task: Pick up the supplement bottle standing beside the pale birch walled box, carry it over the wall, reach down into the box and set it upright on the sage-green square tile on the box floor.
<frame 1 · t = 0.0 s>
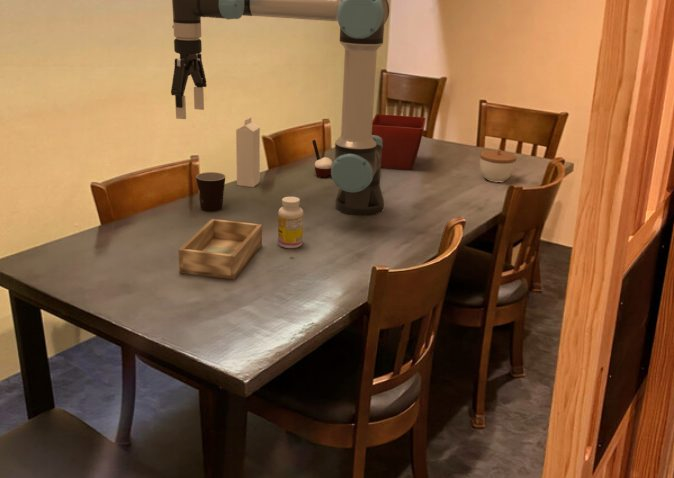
hand: (190, 113, 204), 28 cm above the table, tool pointing down, fingers open, 13 cm apart
coffee mug: (213, 207, 214), on the table
plant pot: (395, 165, 265), on the table
lidded bowl: (495, 180, 253), on the table
walled box: (222, 258, 178), on the table
cocoa: (322, 176, 248), on the table
milk: (248, 184, 236), on the table
supplement bottle: (290, 245, 189), on the table
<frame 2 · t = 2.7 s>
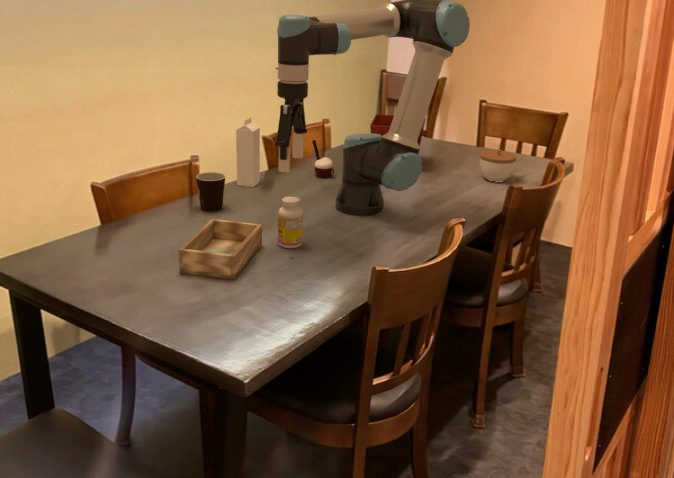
hand: (291, 164, 181), 22 cm above the table, tool pointing down, fingers open, 13 cm apart
nothing on the table moved.
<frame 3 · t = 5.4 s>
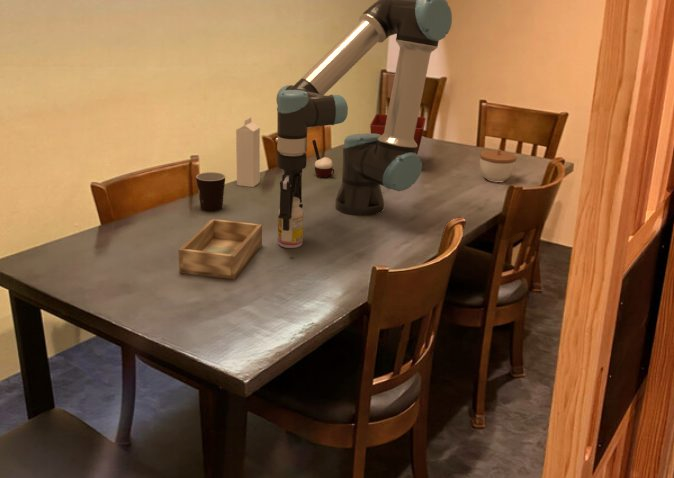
hand: (290, 235, 188), 3 cm above the table, tool pointing down, fingers closed on supplement bottle, 7 cm apart
supplement bottle: (290, 245, 189), on the table, touching gripper
everything else where it was.
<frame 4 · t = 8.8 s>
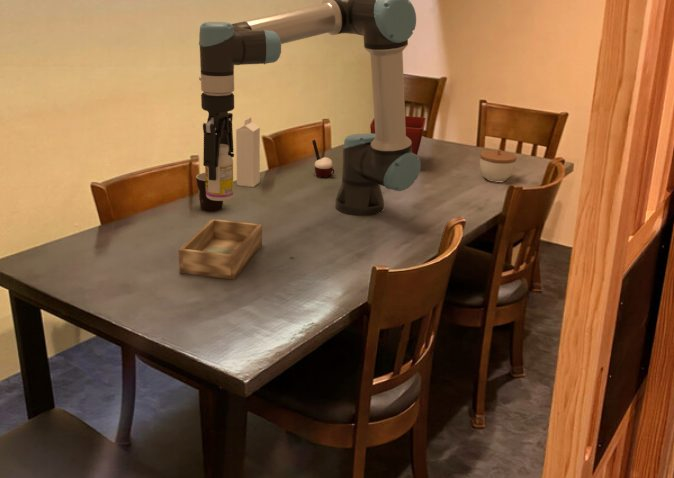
hand: (219, 187, 170), 19 cm above the table, tool pointing down, fingers closed on supplement bottle, 7 cm apart
supplement bottle: (219, 198, 171), point 17 cm above the table, touching gripper
everything else where it was.
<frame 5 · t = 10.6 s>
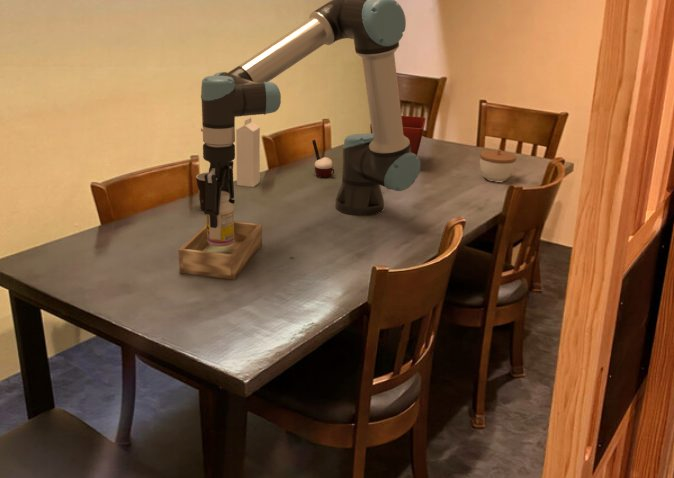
hand: (220, 233, 175), 7 cm above the table, tool pointing down, fingers closed on supplement bottle, 7 cm apart
supplement bottle: (220, 243, 176), point 5 cm above the table, touching gripper
everything else where it was.
when the fingers open (5 cm above the table, at t = 12.0 s): supplement bottle drops 1 cm, resting on walled box.
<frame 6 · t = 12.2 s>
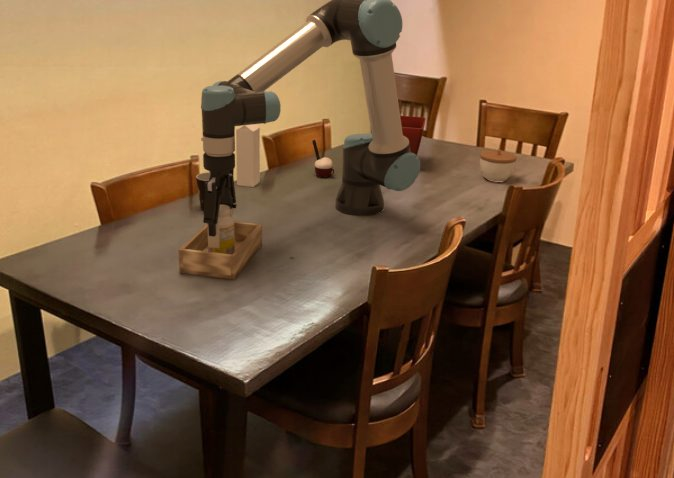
hand: (221, 239, 176), 5 cm above the table, tool pointing down, fingers open, 9 cm apart
supplement bottle: (221, 256, 177), point 1 cm above the table, touching walled box
everything else where it was.
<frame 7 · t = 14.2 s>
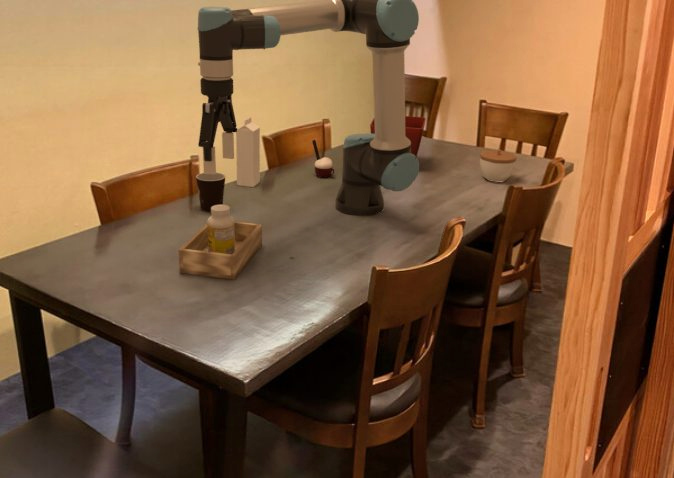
hand: (219, 165, 171), 24 cm above the table, tool pointing down, fingers open, 13 cm apart
nothing on the table moved.
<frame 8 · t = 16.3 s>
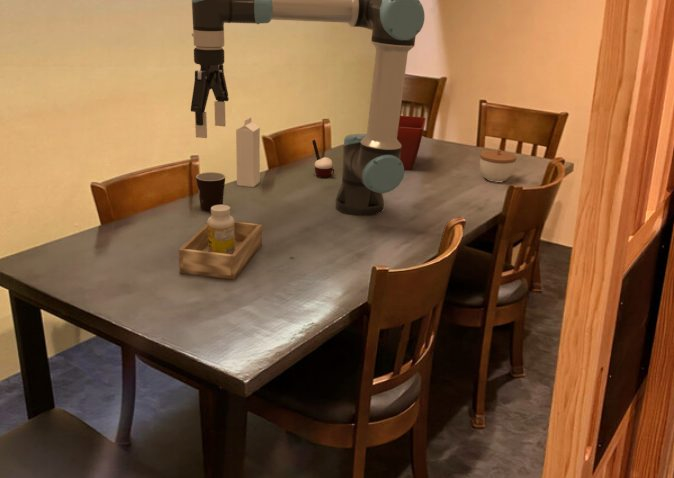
hand: (211, 131, 183), 29 cm above the table, tool pointing down, fingers open, 13 cm apart
nothing on the table moved.
at the end: supplement bottle inside the target area on the walled box (0.8 cm from its centre), point 1.0 cm above the walled box's base; supplement bottle tilted 0°; the gripper is holding nothing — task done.
